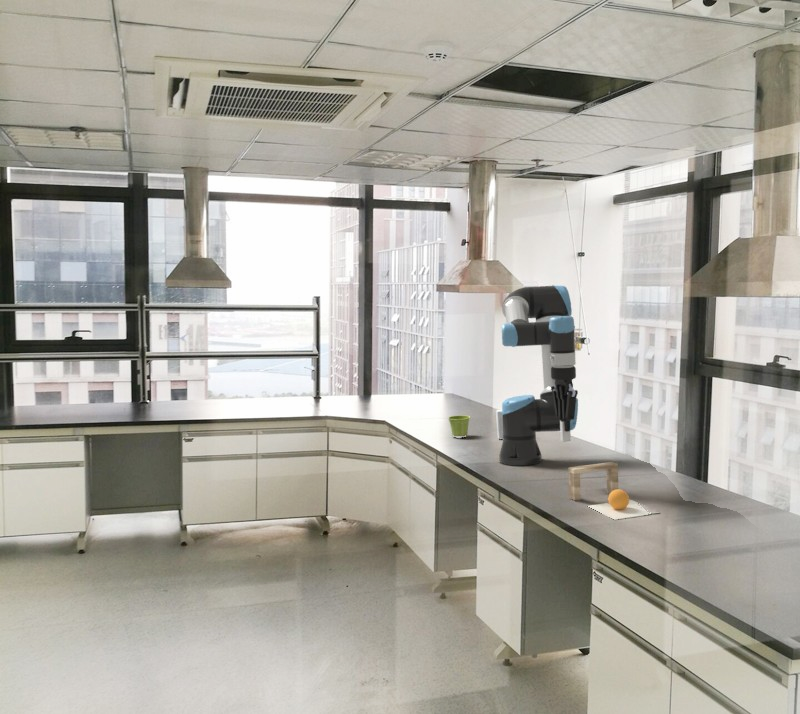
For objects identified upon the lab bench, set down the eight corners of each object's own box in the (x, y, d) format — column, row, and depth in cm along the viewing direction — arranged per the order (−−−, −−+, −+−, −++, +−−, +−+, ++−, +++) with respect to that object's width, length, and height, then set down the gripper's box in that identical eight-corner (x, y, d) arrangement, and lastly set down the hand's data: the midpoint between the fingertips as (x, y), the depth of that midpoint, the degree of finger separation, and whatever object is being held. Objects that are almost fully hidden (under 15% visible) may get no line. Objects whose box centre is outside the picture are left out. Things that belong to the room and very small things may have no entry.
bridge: (569, 498, 221) (568, 467, 220) (613, 492, 225) (612, 461, 224) (574, 500, 218) (573, 469, 217) (618, 494, 222) (617, 463, 221)
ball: (609, 514, 207) (602, 496, 210) (627, 511, 209) (619, 494, 212) (617, 505, 203) (610, 487, 206) (635, 502, 204) (627, 484, 208)
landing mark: (587, 506, 212) (587, 505, 212) (630, 500, 216) (630, 499, 216) (614, 520, 198) (614, 519, 198) (660, 513, 202) (660, 512, 202)
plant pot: (469, 439, 316) (468, 419, 315) (447, 439, 318) (446, 419, 317) (472, 435, 325) (471, 415, 324) (451, 435, 327) (450, 415, 326)
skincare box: (511, 437, 315) (510, 409, 314) (513, 439, 311) (512, 410, 310) (496, 438, 315) (495, 409, 314) (498, 440, 311) (497, 411, 310)
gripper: (542, 365, 239) (545, 438, 241) (562, 369, 226) (565, 446, 228) (563, 363, 241) (566, 436, 243) (584, 367, 228) (587, 443, 231)
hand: (565, 440), depth 236 cm, fingers closed
